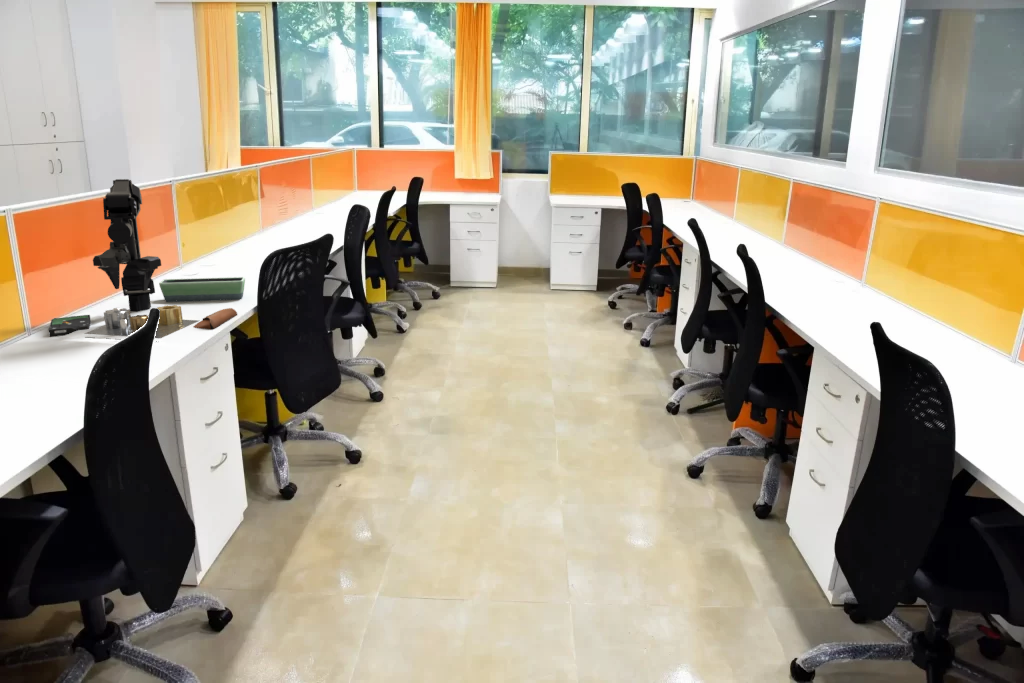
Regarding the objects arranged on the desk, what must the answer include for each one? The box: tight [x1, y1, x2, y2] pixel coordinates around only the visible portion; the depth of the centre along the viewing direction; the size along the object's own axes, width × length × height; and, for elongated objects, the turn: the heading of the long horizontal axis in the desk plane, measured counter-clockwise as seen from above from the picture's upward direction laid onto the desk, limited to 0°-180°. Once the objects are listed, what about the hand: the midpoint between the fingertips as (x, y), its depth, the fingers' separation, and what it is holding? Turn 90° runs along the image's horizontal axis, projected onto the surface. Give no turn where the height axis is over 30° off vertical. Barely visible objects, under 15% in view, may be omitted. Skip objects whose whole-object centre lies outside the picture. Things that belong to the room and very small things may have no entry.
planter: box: [159, 276, 246, 303], centre depth 256 cm, size 28×7×7 cm, turn 103°
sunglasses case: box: [192, 307, 238, 330], centre depth 224 cm, size 18×7×7 cm
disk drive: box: [48, 314, 92, 338], centre depth 218 cm, size 10×3×15 cm
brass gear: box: [157, 304, 184, 325], centre depth 222 cm, size 7×7×4 cm
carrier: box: [84, 307, 199, 343], centre depth 216 cm, size 20×24×6 cm
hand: (130, 289), depth 215 cm, fingers open, 9 cm apart
